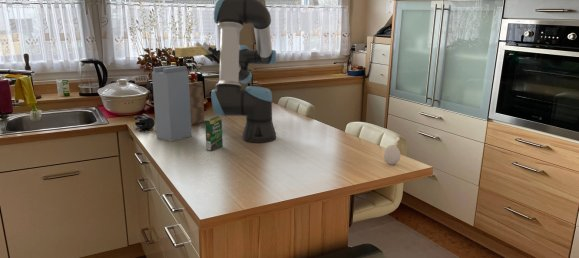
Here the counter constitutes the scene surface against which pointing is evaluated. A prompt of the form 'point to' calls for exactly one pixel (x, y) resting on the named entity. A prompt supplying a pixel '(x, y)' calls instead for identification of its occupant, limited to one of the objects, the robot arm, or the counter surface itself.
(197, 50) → the cream long bar
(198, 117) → the tall brown block
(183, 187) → the counter surface
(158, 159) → the counter surface
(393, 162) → the egg
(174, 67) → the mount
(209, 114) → the counter surface
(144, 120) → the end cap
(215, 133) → the coffee box
